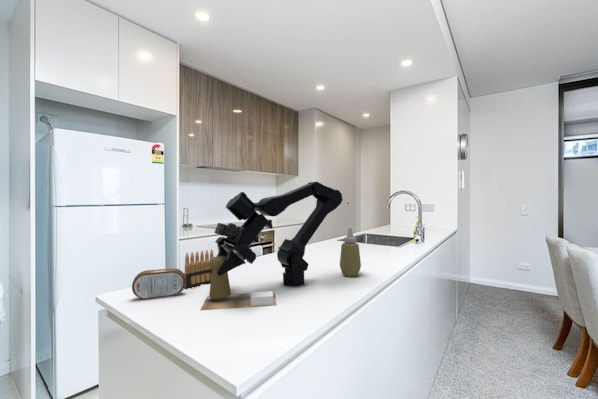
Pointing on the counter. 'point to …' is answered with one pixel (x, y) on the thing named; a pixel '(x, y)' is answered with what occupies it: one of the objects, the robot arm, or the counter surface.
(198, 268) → the ammunition clip
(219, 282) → the cork
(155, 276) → the tin
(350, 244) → the squeeze bottle
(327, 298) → the counter surface
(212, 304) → the oak plank
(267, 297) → the white rectangular prism
